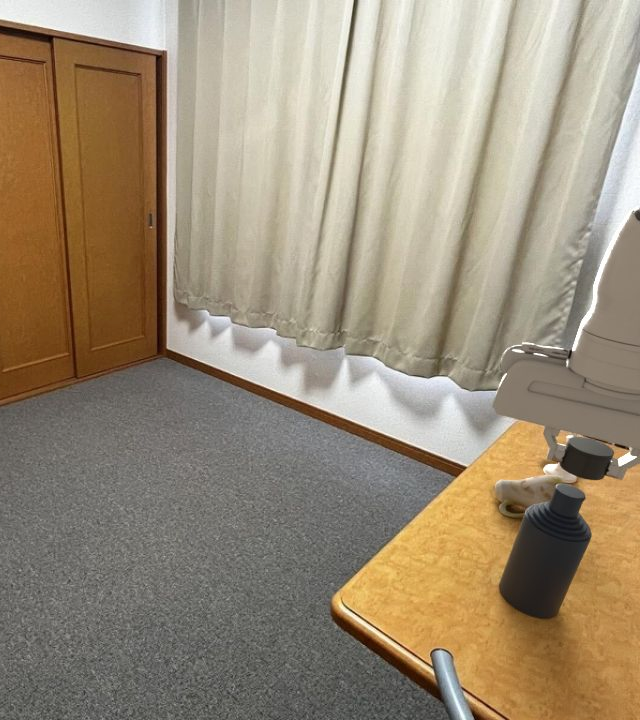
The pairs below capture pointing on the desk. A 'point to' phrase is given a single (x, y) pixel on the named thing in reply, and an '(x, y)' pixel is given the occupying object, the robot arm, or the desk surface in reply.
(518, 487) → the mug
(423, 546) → the desk surface
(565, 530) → the flask
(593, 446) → the stopper
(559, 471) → the chess piece
